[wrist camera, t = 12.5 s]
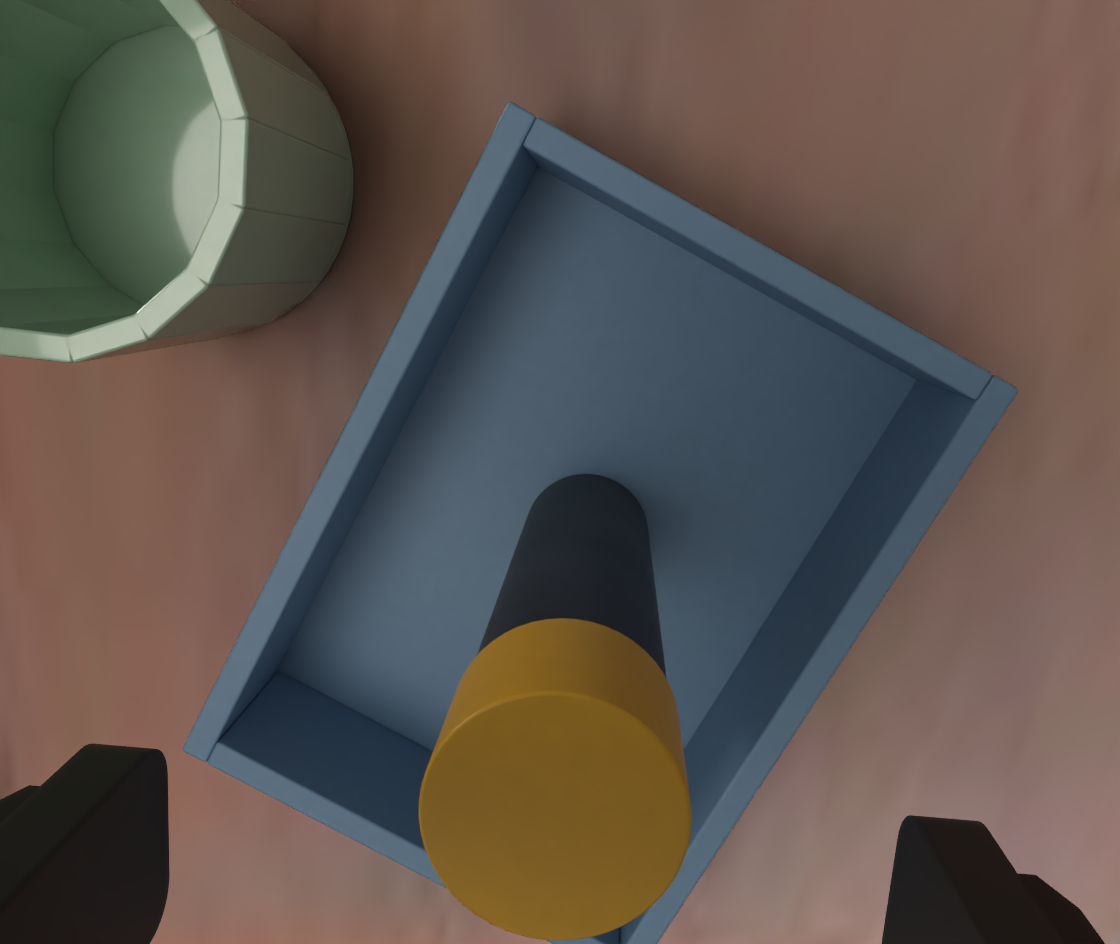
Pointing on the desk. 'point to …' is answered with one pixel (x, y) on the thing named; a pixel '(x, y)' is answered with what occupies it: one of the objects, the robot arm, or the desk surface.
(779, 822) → the desk surface
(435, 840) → the marker
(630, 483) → the desk tray
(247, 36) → the pen cup
